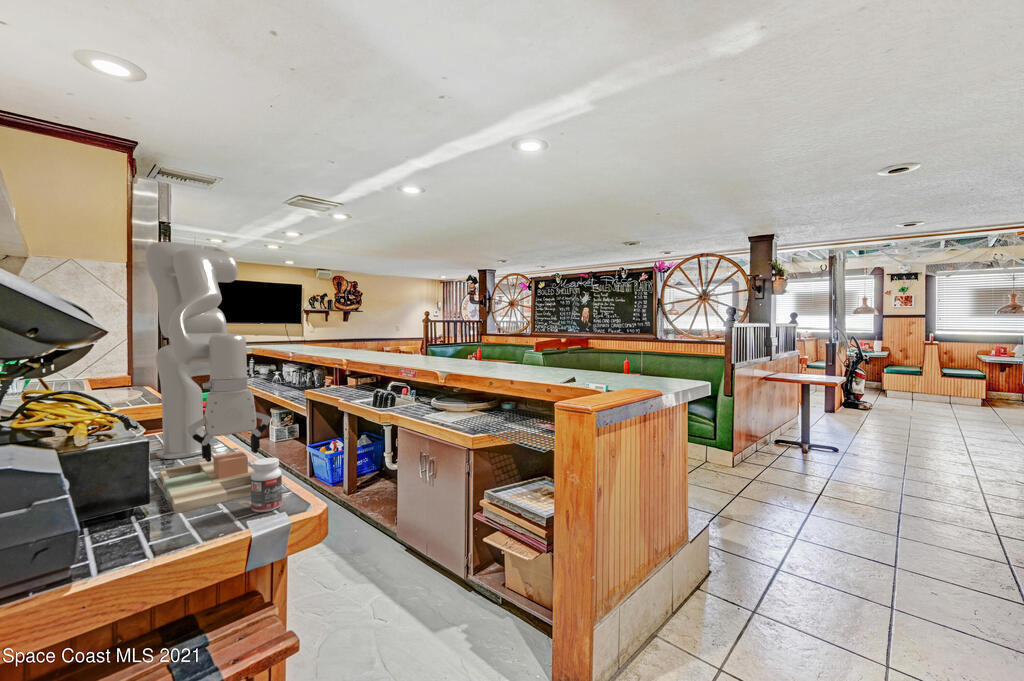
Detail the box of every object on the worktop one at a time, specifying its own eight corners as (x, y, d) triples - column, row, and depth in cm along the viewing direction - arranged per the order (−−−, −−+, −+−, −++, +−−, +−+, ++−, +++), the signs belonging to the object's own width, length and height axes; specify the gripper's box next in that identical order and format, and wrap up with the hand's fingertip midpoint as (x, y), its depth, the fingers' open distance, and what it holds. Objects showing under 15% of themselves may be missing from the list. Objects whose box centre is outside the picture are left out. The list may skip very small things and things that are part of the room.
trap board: (159, 477, 111) (159, 469, 111) (238, 462, 122) (238, 455, 122) (175, 513, 91) (174, 504, 91) (267, 491, 103) (267, 483, 103)
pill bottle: (268, 514, 91) (267, 466, 91) (244, 511, 92) (243, 464, 92) (288, 503, 97) (287, 457, 96) (265, 500, 98) (264, 455, 97)
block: (213, 471, 109) (213, 455, 109) (241, 466, 114) (241, 450, 113) (218, 478, 105) (218, 461, 105) (248, 472, 109) (247, 456, 109)
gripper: (187, 391, 99) (190, 468, 100) (273, 383, 111) (275, 452, 112) (182, 388, 105) (185, 460, 105) (264, 380, 116) (266, 446, 117)
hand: (232, 456), depth 108 cm, fingers open, 9 cm apart
